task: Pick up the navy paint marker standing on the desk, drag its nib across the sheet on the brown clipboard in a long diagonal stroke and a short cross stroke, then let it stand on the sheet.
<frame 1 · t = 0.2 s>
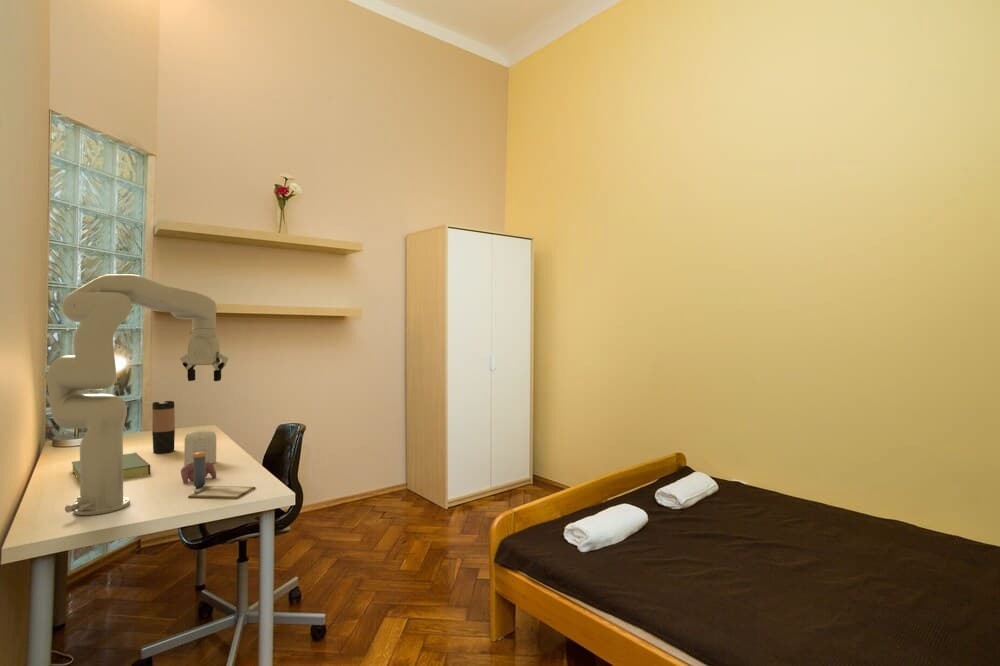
hand: (204, 380, 189), 31 cm above the table, tool pointing down, fingers open, 9 cm apart
hardcover book: (110, 474, 181), on the table
marker: (199, 488, 163), on the table
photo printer: (200, 464, 192), on the table
travel mug: (163, 452, 211), on the table
clipboard: (222, 493, 158), on the table
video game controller: (198, 480, 172), on the table
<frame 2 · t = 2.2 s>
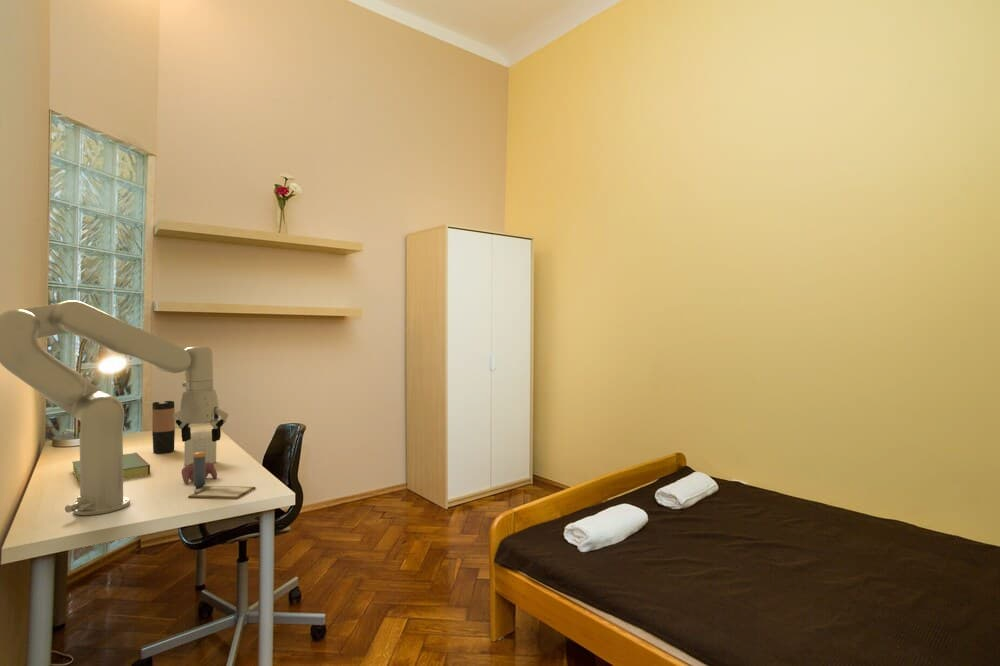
hand: (201, 440, 163), 15 cm above the table, tool pointing down, fingers open, 9 cm apart
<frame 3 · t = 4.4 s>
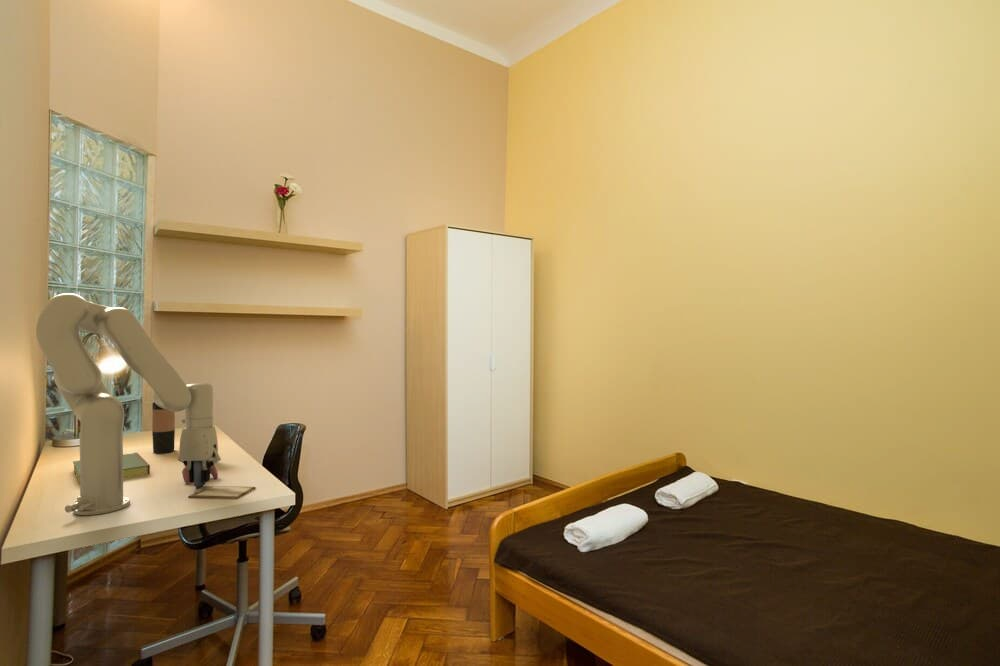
hand: (199, 481, 163), 2 cm above the table, tool pointing down, fingers closed on marker, 3 cm apart
marker: (199, 488, 163), on the table, touching gripper
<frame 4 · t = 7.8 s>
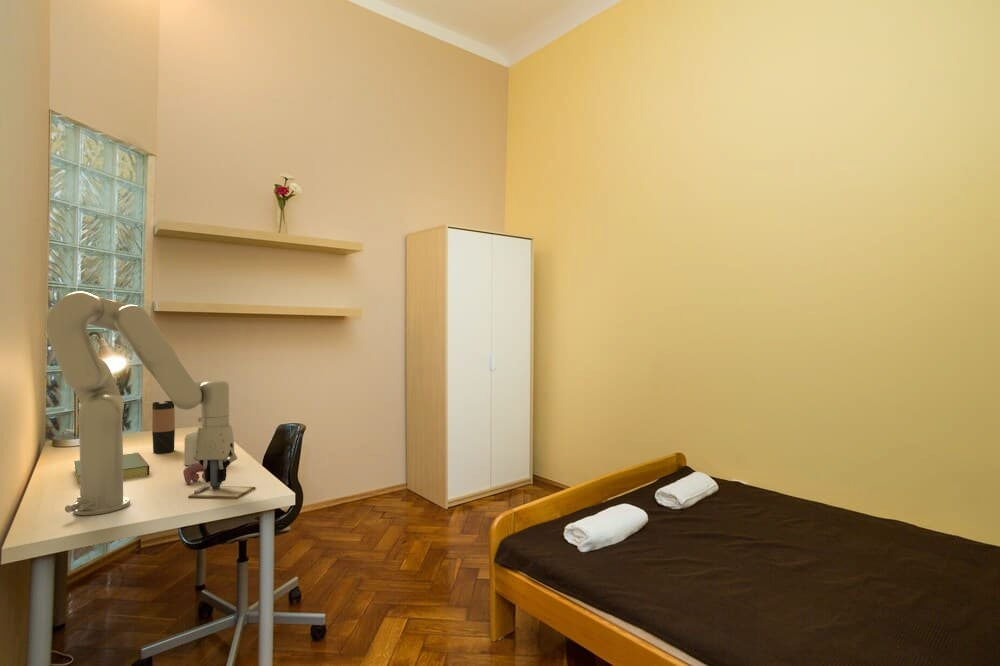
hand: (215, 480, 160), 3 cm above the table, tool pointing down, fingers closed on marker, 3 cm apart
marker: (216, 487, 161), point 1 cm above the table, touching gripper
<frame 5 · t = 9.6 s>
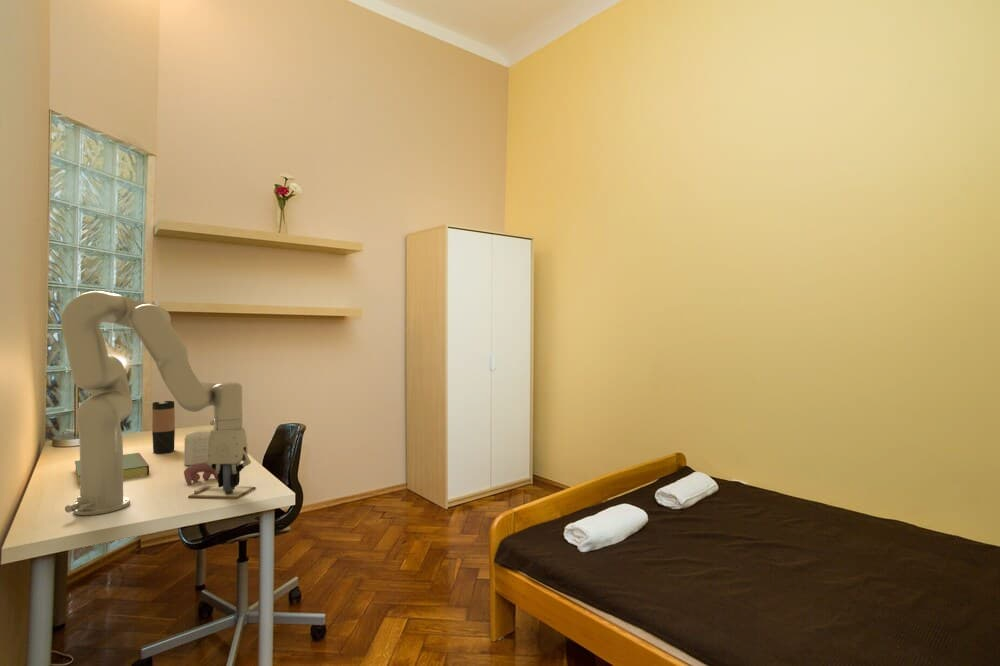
hand: (228, 485, 156), 3 cm above the table, tool pointing down, fingers closed on marker, 3 cm apart
marker: (228, 492, 156), point 1 cm above the table, touching gripper
when the fingers open (3 cm above the table, at t = 11.1 s): marker stays where it is, resting on clipboard.
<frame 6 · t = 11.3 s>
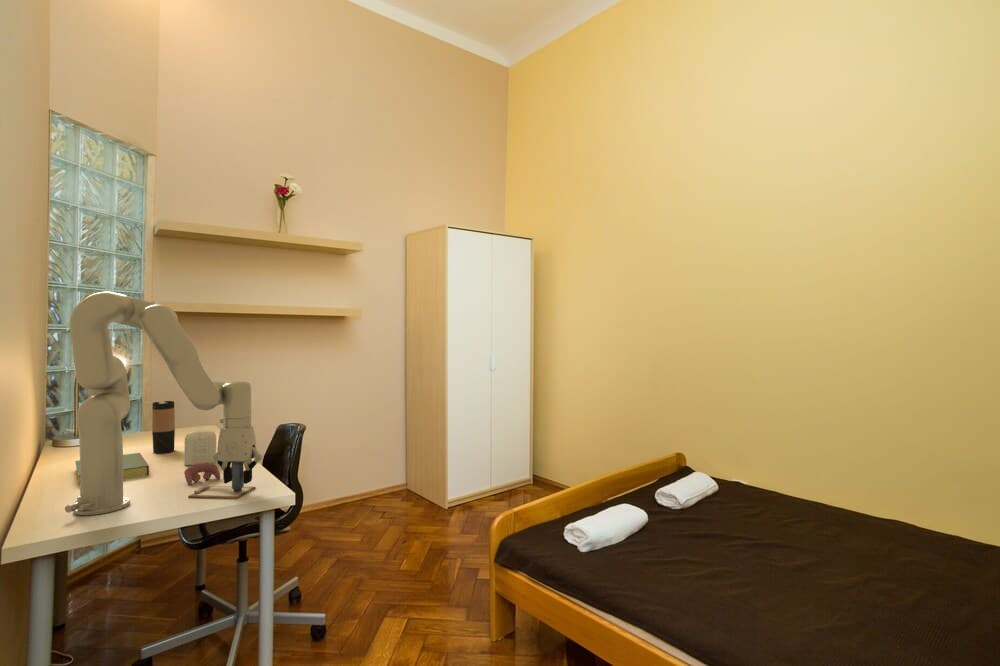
hand: (237, 481, 159), 3 cm above the table, tool pointing down, fingers open, 5 cm apart
marker: (237, 490, 159), point 1 cm above the table, touching clipboard
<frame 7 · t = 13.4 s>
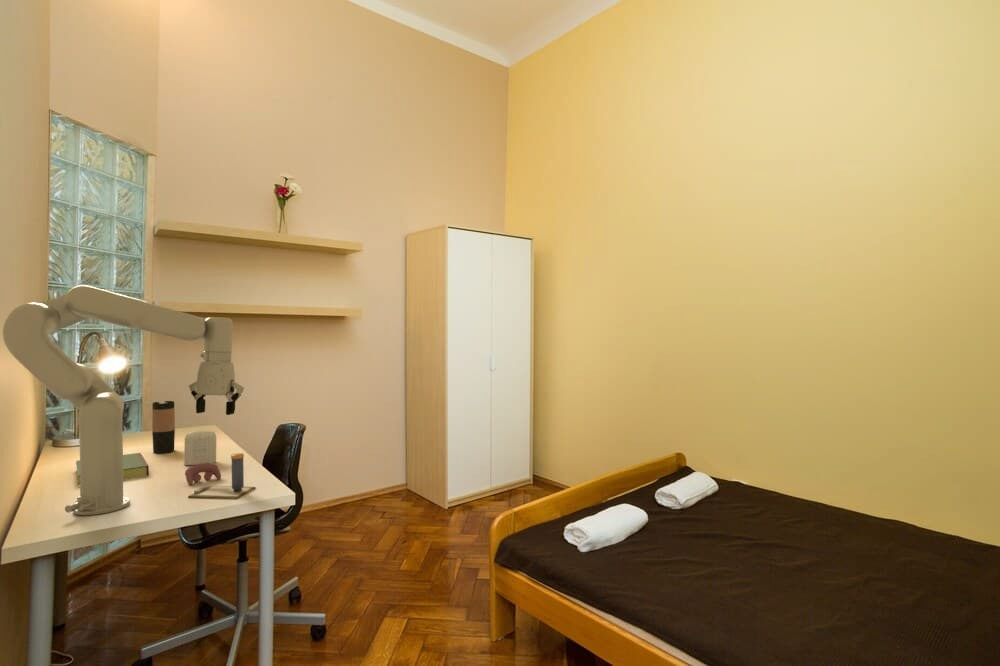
hand: (215, 413, 160), 24 cm above the table, tool pointing down, fingers open, 9 cm apart
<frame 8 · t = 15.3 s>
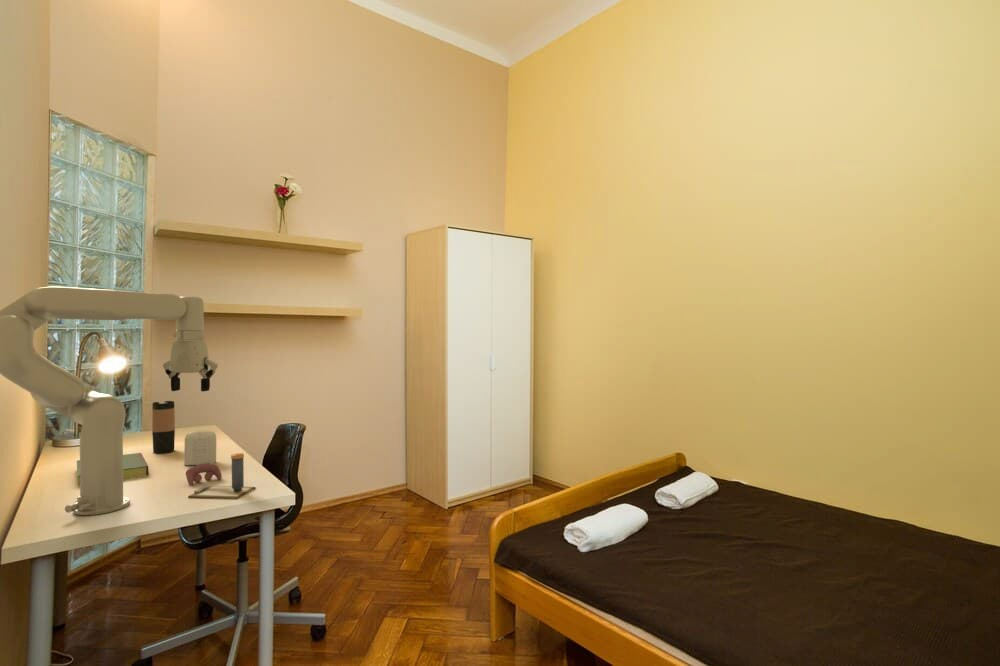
hand: (190, 390, 164), 30 cm above the table, tool pointing down, fingers open, 9 cm apart
at the end: marker inside the target area on the clipboard (4.4 cm from its centre), point 0.6 cm above the clipboard's base; marker tilted 1°; the gripper is holding nothing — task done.
